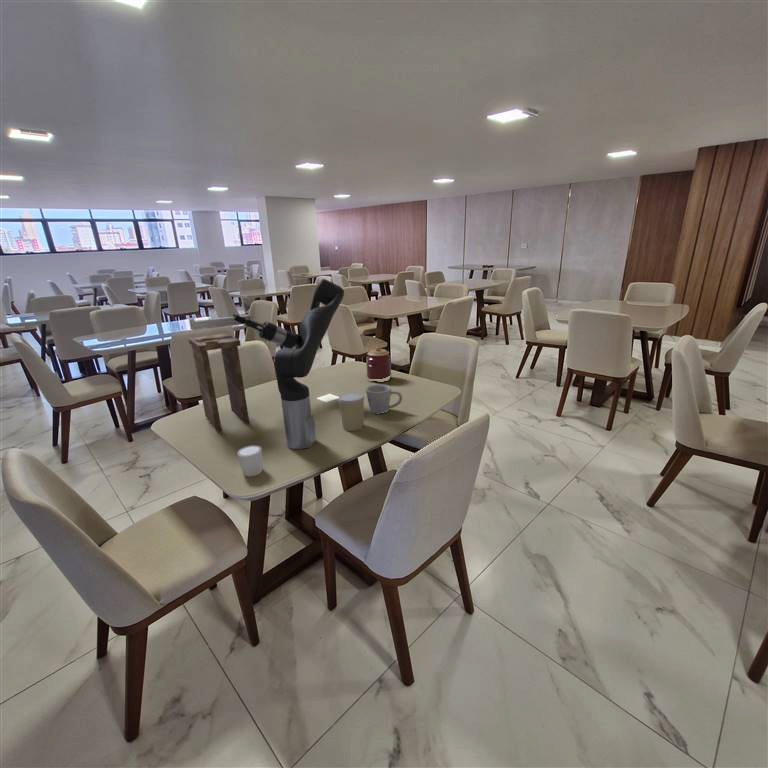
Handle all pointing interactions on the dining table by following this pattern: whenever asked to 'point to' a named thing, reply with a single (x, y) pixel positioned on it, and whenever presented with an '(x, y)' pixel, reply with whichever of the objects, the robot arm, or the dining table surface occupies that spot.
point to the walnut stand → (231, 371)
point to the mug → (380, 398)
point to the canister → (378, 364)
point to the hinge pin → (215, 322)
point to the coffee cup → (351, 411)
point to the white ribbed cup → (250, 460)
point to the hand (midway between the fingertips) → (234, 317)
